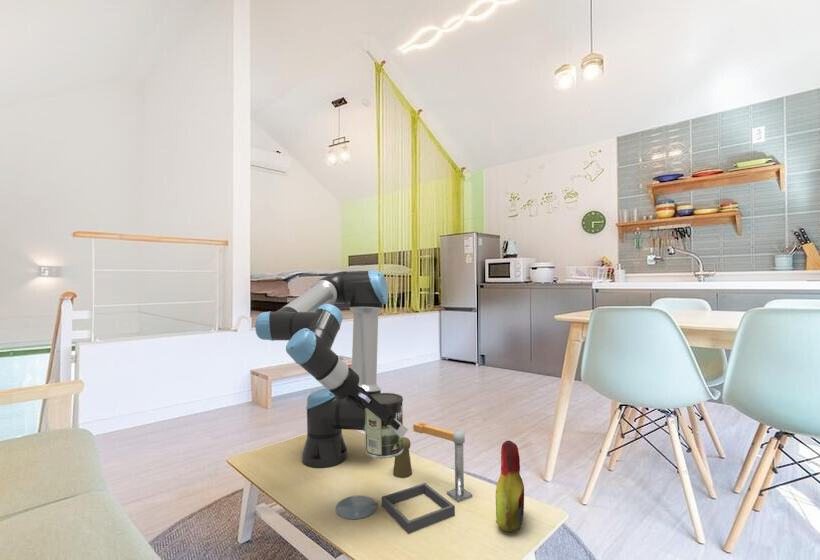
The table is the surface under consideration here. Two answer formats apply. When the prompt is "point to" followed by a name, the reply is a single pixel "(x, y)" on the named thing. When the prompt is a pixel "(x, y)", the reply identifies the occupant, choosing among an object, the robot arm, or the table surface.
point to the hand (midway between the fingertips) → (393, 427)
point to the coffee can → (383, 428)
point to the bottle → (509, 489)
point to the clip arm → (440, 432)
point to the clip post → (459, 477)
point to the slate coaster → (356, 507)
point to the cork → (403, 461)
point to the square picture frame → (421, 521)
